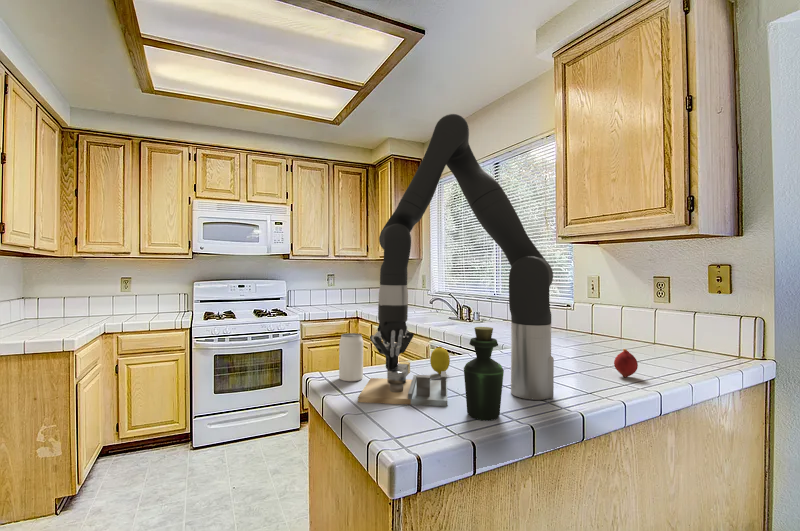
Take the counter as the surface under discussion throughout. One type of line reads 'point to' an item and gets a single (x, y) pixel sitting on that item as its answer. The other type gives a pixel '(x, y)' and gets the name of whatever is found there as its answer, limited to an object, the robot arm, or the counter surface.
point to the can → (351, 357)
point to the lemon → (439, 360)
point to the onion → (625, 363)
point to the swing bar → (398, 373)
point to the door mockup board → (407, 391)
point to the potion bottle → (483, 378)
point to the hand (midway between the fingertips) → (391, 370)
